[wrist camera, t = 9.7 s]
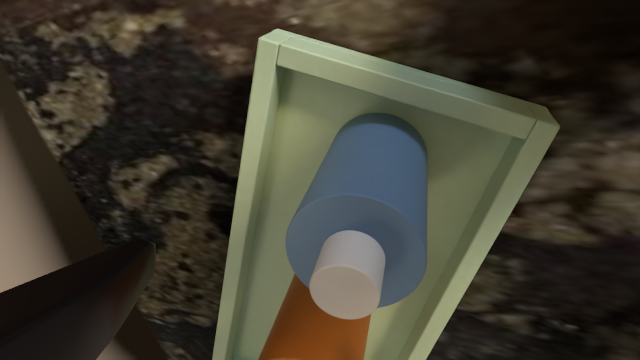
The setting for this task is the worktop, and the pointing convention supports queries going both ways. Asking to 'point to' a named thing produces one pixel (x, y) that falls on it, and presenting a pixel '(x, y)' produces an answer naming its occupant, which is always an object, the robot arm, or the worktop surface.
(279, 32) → the tray
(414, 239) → the blue bottle
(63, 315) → the robot arm
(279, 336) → the amber bottle
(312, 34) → the worktop surface
